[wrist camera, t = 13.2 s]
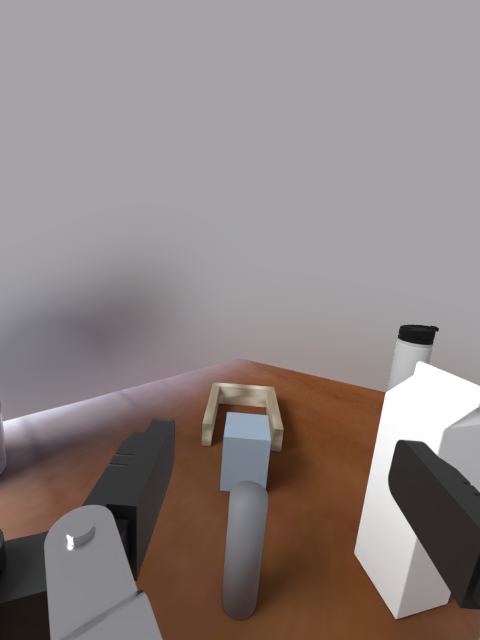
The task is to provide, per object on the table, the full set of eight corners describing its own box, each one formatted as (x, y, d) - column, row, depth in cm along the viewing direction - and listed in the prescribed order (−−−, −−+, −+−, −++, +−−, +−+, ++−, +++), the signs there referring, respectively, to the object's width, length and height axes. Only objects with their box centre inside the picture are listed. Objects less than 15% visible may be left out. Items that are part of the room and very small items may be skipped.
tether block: (203, 616, 24) (210, 508, 22) (223, 459, 43) (228, 393, 41) (273, 623, 24) (288, 515, 22) (262, 462, 43) (269, 396, 41)
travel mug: (421, 426, 57) (444, 330, 53) (385, 419, 59) (404, 325, 55) (413, 411, 63) (432, 324, 59) (380, 405, 65) (397, 319, 61)
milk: (398, 543, 32) (442, 359, 28) (448, 606, 26) (514, 386, 22) (352, 553, 31) (390, 360, 26) (395, 622, 25) (454, 389, 20)
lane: (201, 445, 46) (202, 423, 45) (212, 399, 61) (213, 382, 61) (281, 451, 46) (283, 429, 45) (271, 404, 61) (273, 387, 60)
